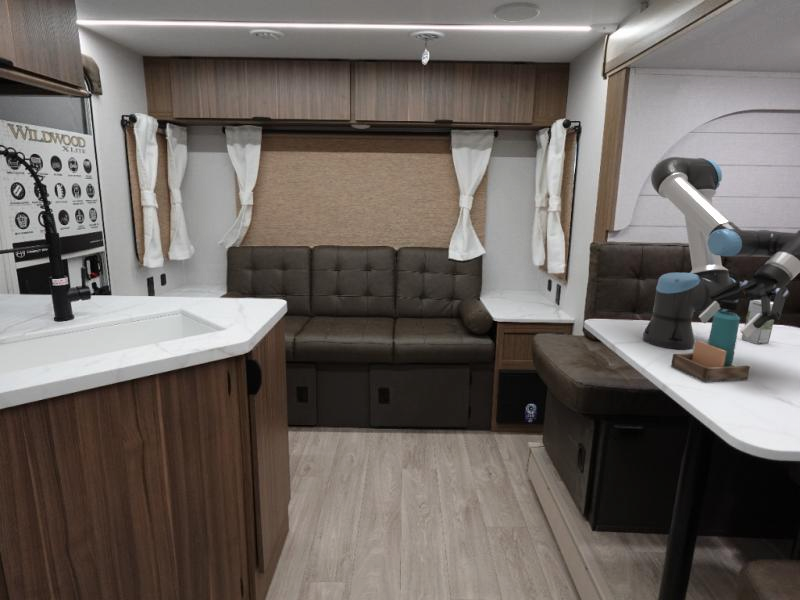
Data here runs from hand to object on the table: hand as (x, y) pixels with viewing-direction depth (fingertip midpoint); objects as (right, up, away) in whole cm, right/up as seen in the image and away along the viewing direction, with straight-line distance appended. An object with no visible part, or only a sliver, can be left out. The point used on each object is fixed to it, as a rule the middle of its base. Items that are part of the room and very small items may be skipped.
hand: (721, 326), depth 134 cm
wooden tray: (-2, -13, +3) cm, 14 cm away
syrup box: (+36, -7, +36) cm, 51 cm away
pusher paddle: (-3, -12, +3) cm, 13 cm away
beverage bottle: (+1, -12, +4) cm, 13 cm away
